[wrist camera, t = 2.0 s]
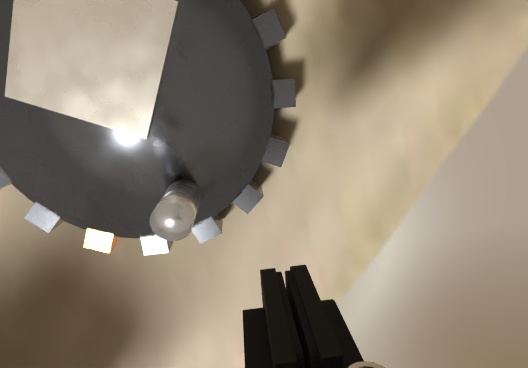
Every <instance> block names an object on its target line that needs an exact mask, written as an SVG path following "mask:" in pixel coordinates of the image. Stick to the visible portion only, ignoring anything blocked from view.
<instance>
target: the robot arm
mask: <svg viewBox="0 0 528 368" xmlns="http://www.w3.org/2000/svg"><path fill="white" fill-rule="evenodd" d="M260 275H261V288H262V300H263V308H257V309H249V310H243V329H244V353H245V368H385V367H383V366H381V365H378V364H376V363H374V362H367V361H364V360H363V358H362V356H361V354H360V352H359V350H358V348H357V346H356V344H355V342H354V340H353V338H352V336H351V334H350V332H349V329H348V327H347V325H346V323H345V321H344V319H343V317H342V315H341V313H340V311H339V309H338V307H337V305H336V303H335V301H334V300H333V299H331V300H322V301H321V300H320V298H319V295H318V293H317V291H316V288H315V286H314V284H313V281H312V279H311V276H310V274H309V272H308V269H307V267H306V265H299V266H291V267H290V271H285V279H286V288H285V284H284V280H283V276H282V273H281V272H276V270H275V268H272V269H263V270H260Z"/></svg>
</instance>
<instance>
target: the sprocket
mask: <svg viewBox="0 0 528 368" xmlns="http://www.w3.org/2000/svg"><path fill="white" fill-rule="evenodd" d="M285 38H286V36H285V34H284V31H283V29H282V27H281V24H280V22H279V19H278V17H277V15H276V12H275V10H274V8H273V9H271V10H269V11H267V12H265V13H263V14H262V15H260V16H258V17H256V18H254V19H252V18H251V16H250V14H249V13H248V11H247V10H246V8H245V7H244V5H243V4H242V2H241V1H240V0H0V189H1V188H3V187H5V186H7V185H10V184H13V185H14V186H15V187H16V188H17V189H18V190H19V191H20V192H22V193H23V194H24V195H25V196H26V197H27V198H29V199H30V200H31V201H32V202H34V203H35V204H34V205H33V206H32V208H31V209H30V211H29V212H28V213H27V215H26V216H25V217H24V219H26V220H27V221H29V222H31V223H32V224H34V225H36V226H37V227H39V228H41V229H42V230H44V231H46V232H47V233H49V232H50V231H52V230H53V229H54V228H55V227H57V226H58V225H59V224H60V223H62V222H63V221H66V222H68V223H70V224H73V225H75V226H78V227H80V228H83V229H86V230H87V232H86V237H85V242H84V247H85V248H89V249H94V250H98V251H102V252H107V253H110V251H111V250H112V249H113V247H114V246H115V245H116V243H117V242H118V241H119V238H120V237H126V238H141V243H142V247H143V252H144V255H152V254H162V253H169V251H170V248H171V245H172V243H173V241H178V240H181V239H183V238H185V237H186V236H187V235H188V234H189V233H190V231H191V230H192V232H193V233H194V235H195V236H196V238H197V239H198V241H199V242H200V244H201V243H203V242H205V241H207V240H209V239H211V238H213V237H215V236H217V235H219V234H221V233H222V223H223V222H222V220H221V218H220V217H219V215H218V214H219V213H220V212H221V211H223V210H224V209H225V208H226V207H228V206H229V205H230V204H231V203H232V202H233V203H234V204H235V205H237V206H238V207H239V208H240V209H242V210H243V211H244V212H246V213H247V214H248V213H249V212H250V211H251V210H252V209H253V207H254V206H255V205H256V204H257V203H258V202H259V201H260V200H261V199H262V198H263V192H262V188H261V187H260V186H259V185H258V184H256V183H255V182H254V181H253V180H252V178H253V177H254V175H255V173H256V172H257V170H258V168H259V166H260V164H261V162H266V163H269V164H272V165H275V166H278V167H281V166H282V164H283V161H284V158H285V155H286V153H287V150H288V147H289V144H290V143H289V142H288V141H287V140H286V139H285V138H282V137H279V136H276V135H273V134H271V132H272V125H273V118H274V108H287V107H296V100H295V78H294V79H279V80H273V78H272V72H271V68H270V64H269V59H268V55H267V52H266V50H267V49H269V48H271V47H273V46H275V45H277V44H279V43H280V42H282V41H283V40H284V39H285Z"/></svg>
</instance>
